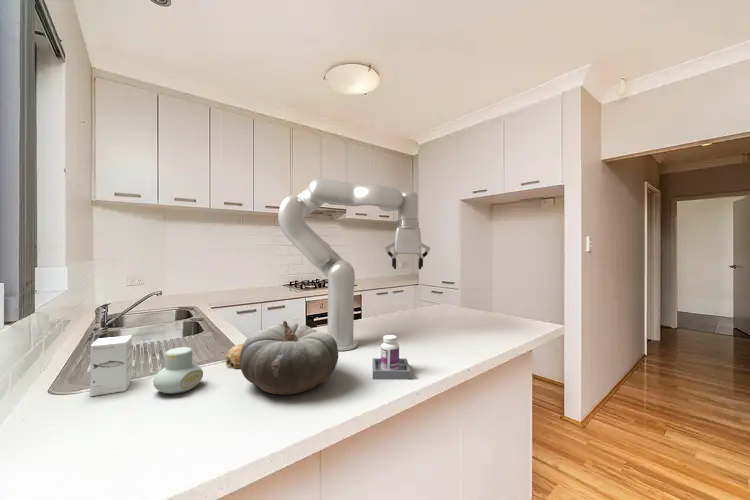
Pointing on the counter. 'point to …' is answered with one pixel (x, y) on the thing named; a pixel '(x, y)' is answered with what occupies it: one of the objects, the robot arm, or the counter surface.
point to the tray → (401, 373)
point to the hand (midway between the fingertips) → (407, 269)
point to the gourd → (288, 358)
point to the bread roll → (234, 357)
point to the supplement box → (110, 365)
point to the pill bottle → (390, 353)
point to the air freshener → (178, 372)
